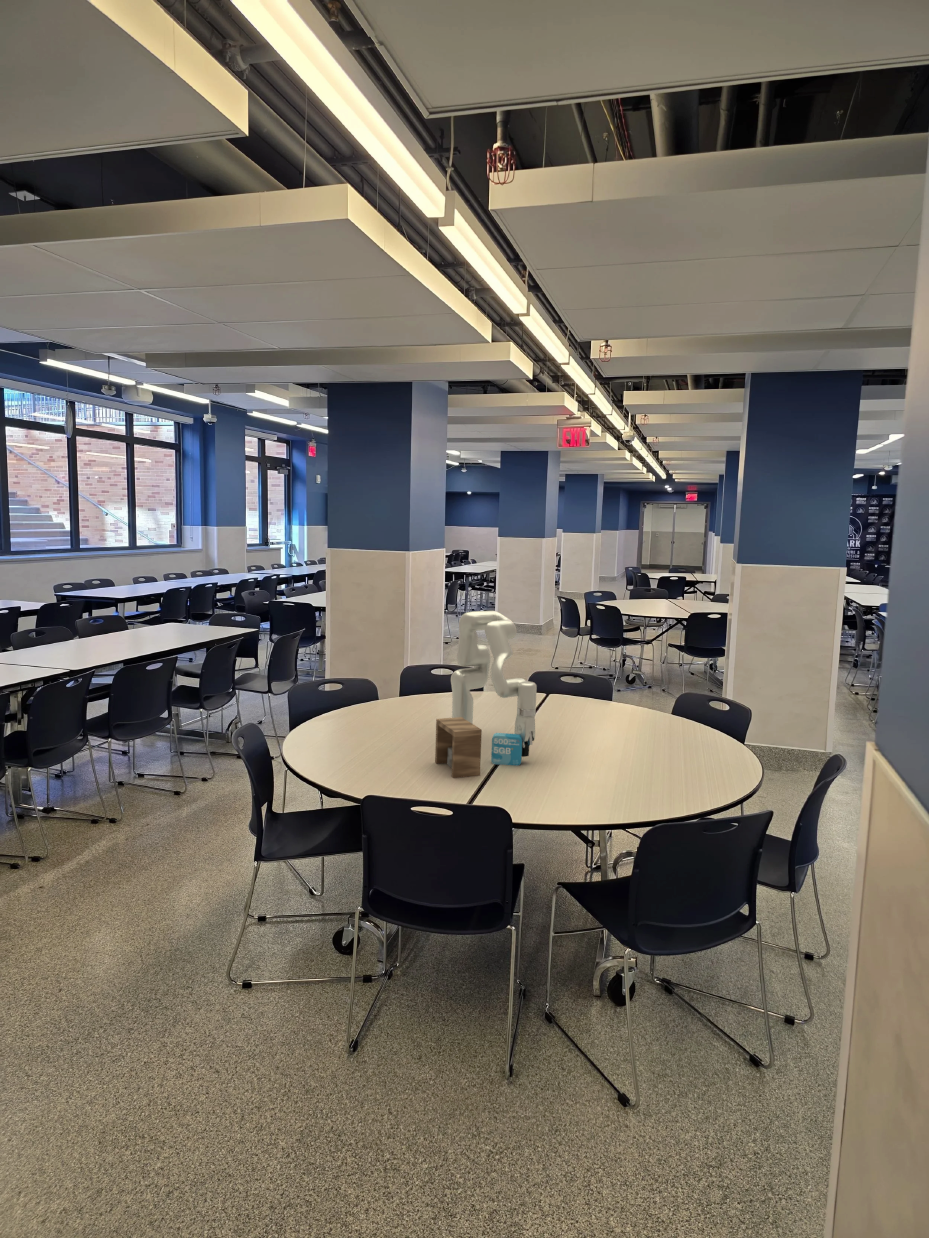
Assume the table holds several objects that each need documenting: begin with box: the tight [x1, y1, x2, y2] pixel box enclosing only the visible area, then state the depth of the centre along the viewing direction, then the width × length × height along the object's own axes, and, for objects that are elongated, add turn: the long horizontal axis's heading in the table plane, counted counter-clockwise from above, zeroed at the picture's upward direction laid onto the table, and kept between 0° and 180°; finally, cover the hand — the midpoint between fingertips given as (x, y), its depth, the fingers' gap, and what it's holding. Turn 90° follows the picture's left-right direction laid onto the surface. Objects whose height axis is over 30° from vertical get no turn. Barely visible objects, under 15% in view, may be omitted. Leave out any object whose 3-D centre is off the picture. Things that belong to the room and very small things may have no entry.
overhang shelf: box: [434, 717, 483, 779], centre depth 289 cm, size 20×11×18 cm, turn 23°
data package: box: [490, 732, 523, 766], centre depth 298 cm, size 12×4×12 cm, turn 82°
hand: (524, 755), depth 301 cm, fingers closed
